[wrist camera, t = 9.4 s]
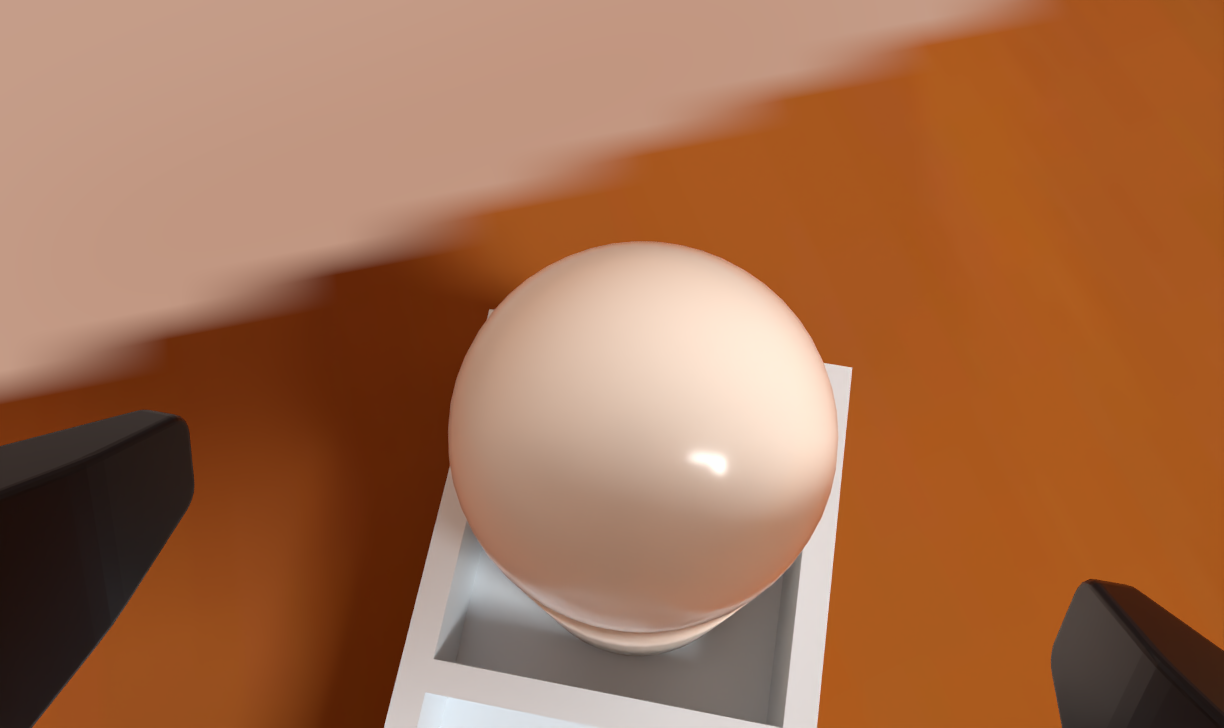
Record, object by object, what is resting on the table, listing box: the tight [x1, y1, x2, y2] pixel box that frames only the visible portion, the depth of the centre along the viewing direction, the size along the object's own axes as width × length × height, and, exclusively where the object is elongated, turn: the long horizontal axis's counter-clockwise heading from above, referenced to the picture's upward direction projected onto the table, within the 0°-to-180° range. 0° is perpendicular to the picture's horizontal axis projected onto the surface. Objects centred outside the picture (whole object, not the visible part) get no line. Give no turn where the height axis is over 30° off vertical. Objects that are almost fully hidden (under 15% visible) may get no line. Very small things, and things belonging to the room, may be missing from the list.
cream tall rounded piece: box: [448, 241, 838, 656], centre depth 14 cm, size 5×5×11 cm
